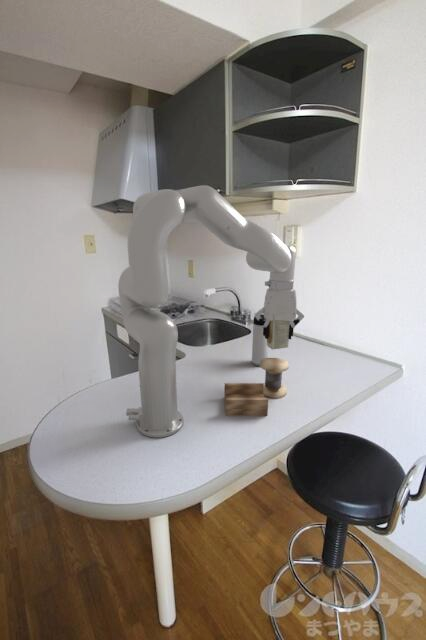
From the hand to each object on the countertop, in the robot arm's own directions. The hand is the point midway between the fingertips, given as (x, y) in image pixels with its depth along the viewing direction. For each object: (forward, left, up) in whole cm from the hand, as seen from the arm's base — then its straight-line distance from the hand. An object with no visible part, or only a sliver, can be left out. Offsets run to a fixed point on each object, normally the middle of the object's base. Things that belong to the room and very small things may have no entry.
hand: (277, 337), depth 106 cm
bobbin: (-2, -7, -16) cm, 18 cm away
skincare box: (0, 0, -4) cm, 4 cm away
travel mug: (-3, +15, -17) cm, 23 cm away
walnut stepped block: (-12, -16, -16) cm, 26 cm away
